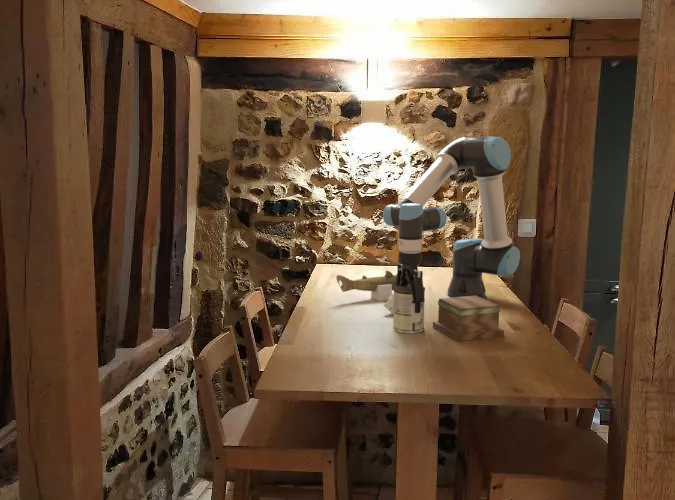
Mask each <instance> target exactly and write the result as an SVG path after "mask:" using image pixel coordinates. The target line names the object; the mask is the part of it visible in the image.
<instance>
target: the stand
mask: <svg viewBox="0 0 675 500" xmlns="http://www.w3.org/2000/svg"><path fill="white" fill-rule="evenodd" d="M437 305H438V316H437V318H438V320H437V321H436V320H435V321H434V320H433V321H432V328H433V329H435V330H437V332H440V333H442V334H444V335H445V336H447V337H449V338H451V339H452V340H454V341H455V340H456V341H455V342H463V341H464V340H465V341H472V339H474V340H481V338H483V339H489V338H499V337H505V330H504V328H501V327H500V326H499V325H500V312H501V307H500V305H499V304H497V303H494V302H492V301H490V300H488V299H485V298H481V297H478V296H476V295H475V296H464V297H442V298H438V301H437Z"/></svg>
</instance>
